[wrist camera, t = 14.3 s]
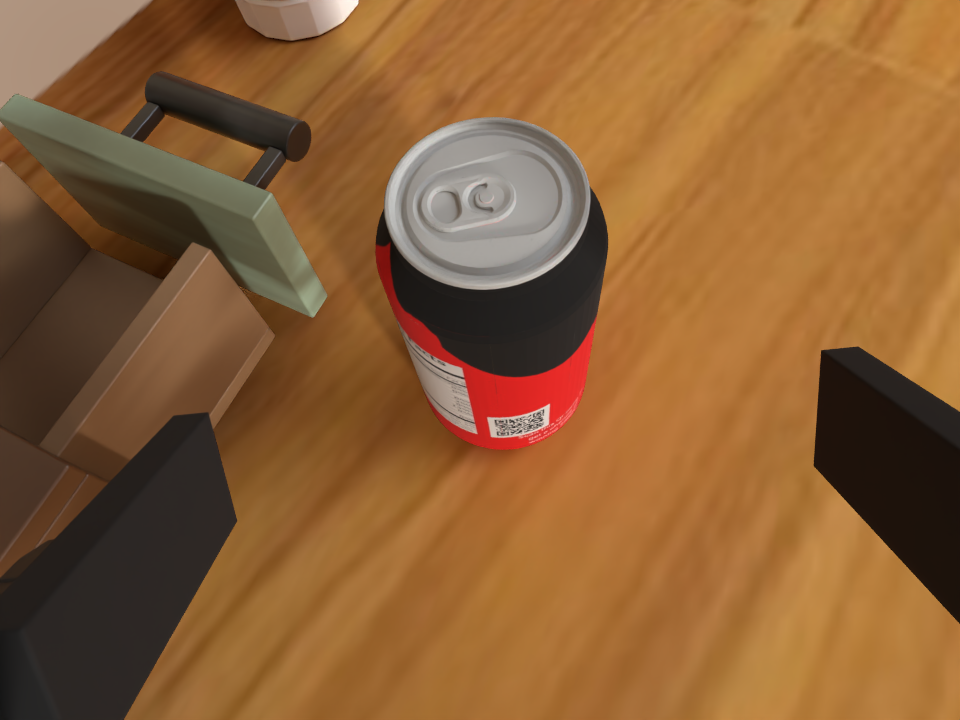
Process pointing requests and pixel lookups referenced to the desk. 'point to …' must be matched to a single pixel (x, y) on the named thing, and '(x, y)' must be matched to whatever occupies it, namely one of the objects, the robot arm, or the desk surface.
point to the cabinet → (37, 495)
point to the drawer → (140, 274)
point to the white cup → (295, 16)
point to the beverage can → (494, 276)
